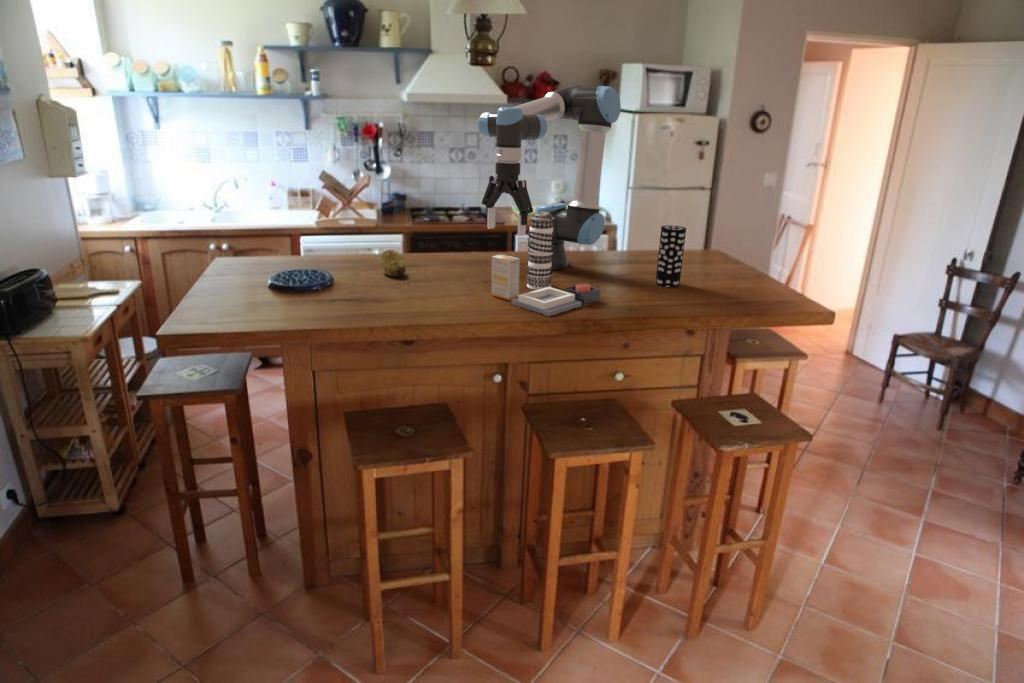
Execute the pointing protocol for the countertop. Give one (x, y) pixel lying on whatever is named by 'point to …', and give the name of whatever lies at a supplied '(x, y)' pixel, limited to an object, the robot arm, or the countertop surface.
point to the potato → (392, 263)
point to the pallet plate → (547, 301)
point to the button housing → (585, 295)
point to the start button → (583, 287)
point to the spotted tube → (670, 256)
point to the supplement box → (505, 276)
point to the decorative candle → (540, 250)
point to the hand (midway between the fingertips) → (506, 231)
